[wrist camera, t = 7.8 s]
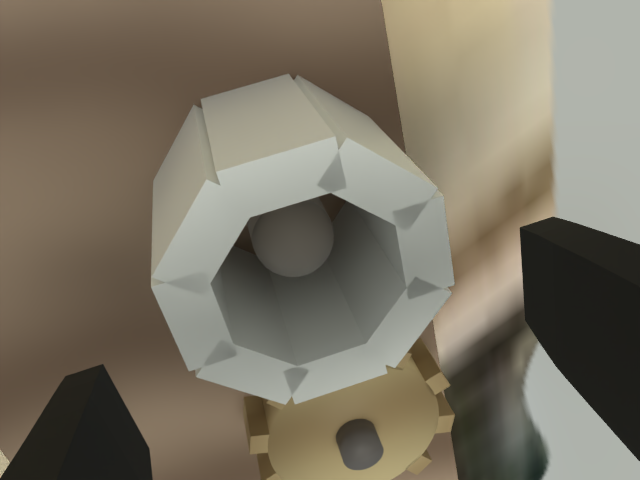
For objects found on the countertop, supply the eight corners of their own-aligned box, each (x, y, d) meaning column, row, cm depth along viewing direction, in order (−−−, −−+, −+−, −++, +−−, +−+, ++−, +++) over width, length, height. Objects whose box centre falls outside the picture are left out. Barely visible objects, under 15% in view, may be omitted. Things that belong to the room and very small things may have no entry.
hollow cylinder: (360, 52, 14) (432, 107, 11) (396, 250, 17) (462, 348, 13) (125, 120, 14) (112, 202, 10) (202, 311, 17) (215, 430, 13)
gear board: (449, 480, 25) (503, 587, 21) (132, 593, 23) (127, 728, 20) (339, -162, 13) (413, -188, 9) (-286, 0, 12) (-491, 46, 8)
